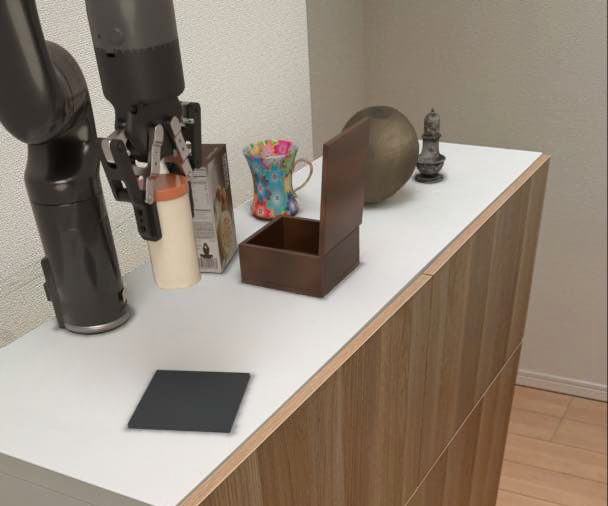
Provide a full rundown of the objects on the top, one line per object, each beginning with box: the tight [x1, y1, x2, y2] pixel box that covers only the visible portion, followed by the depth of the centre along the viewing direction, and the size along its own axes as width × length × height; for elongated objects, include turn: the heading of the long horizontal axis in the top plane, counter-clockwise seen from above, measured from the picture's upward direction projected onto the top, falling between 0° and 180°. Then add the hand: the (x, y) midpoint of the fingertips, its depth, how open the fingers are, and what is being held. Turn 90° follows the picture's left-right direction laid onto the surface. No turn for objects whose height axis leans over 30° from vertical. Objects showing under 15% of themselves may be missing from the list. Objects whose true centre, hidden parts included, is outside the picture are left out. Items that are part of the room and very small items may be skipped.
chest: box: [237, 214, 360, 299], centre depth 115 cm, size 14×13×6 cm
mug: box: [242, 139, 314, 220], centre depth 132 cm, size 12×9×11 cm
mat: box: [127, 369, 251, 433], centre depth 92 cm, size 12×12×1 cm
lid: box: [318, 117, 371, 256], centre depth 105 cm, size 14×13×1 cm
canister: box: [139, 172, 202, 291], centre depth 80 cm, size 5×5×10 cm
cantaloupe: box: [340, 105, 420, 205], centre depth 132 cm, size 14×14×15 cm
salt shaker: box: [414, 107, 447, 184], centre depth 141 cm, size 6×6×12 cm
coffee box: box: [175, 143, 238, 274], centre depth 117 cm, size 9×6×16 cm
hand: (168, 228), depth 79 cm, fingers closed on canister, 5 cm apart
